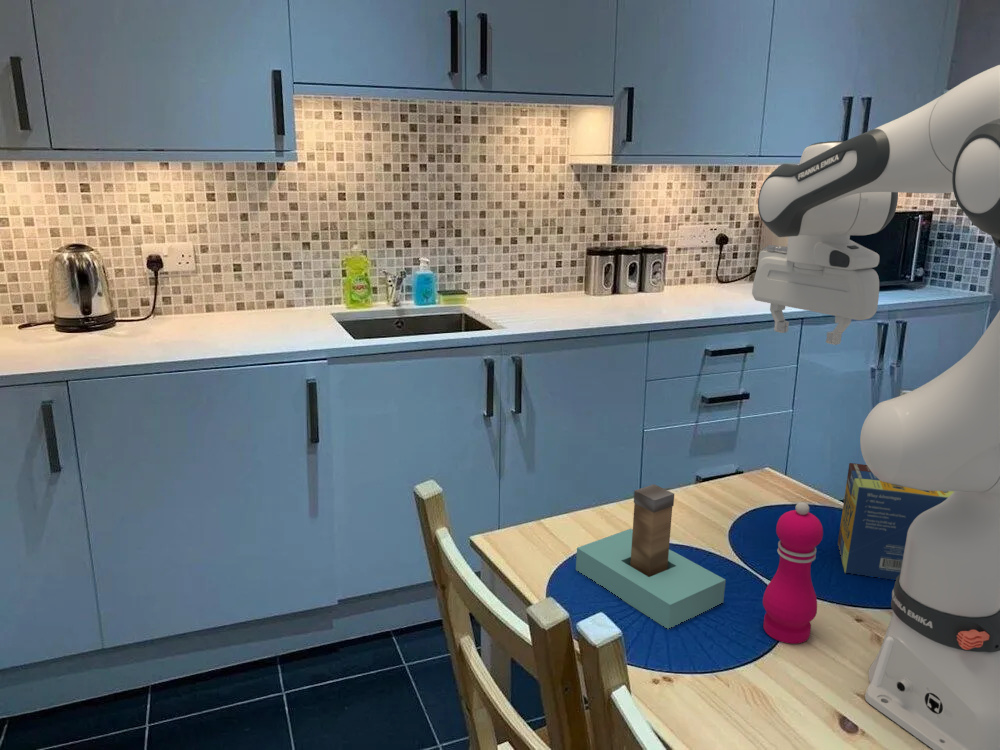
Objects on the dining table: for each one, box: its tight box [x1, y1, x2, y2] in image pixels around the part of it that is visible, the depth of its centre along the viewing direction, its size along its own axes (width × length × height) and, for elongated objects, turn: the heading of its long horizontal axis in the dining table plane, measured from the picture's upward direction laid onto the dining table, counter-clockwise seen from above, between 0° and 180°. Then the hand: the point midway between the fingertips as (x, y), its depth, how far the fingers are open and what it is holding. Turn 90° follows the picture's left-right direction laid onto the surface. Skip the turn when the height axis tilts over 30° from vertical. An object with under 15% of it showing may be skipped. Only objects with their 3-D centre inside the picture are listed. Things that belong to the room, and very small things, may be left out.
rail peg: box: [630, 484, 675, 577], centre depth 123 cm, size 4×4×16 cm
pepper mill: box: [762, 501, 824, 645], centre depth 111 cm, size 7×7×20 cm
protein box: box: [837, 462, 954, 581], centre depth 131 cm, size 10×15×16 cm
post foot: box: [575, 528, 727, 630], centre depth 125 cm, size 20×12×4 cm, turn 36°
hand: (806, 337), depth 128 cm, fingers open, 8 cm apart
